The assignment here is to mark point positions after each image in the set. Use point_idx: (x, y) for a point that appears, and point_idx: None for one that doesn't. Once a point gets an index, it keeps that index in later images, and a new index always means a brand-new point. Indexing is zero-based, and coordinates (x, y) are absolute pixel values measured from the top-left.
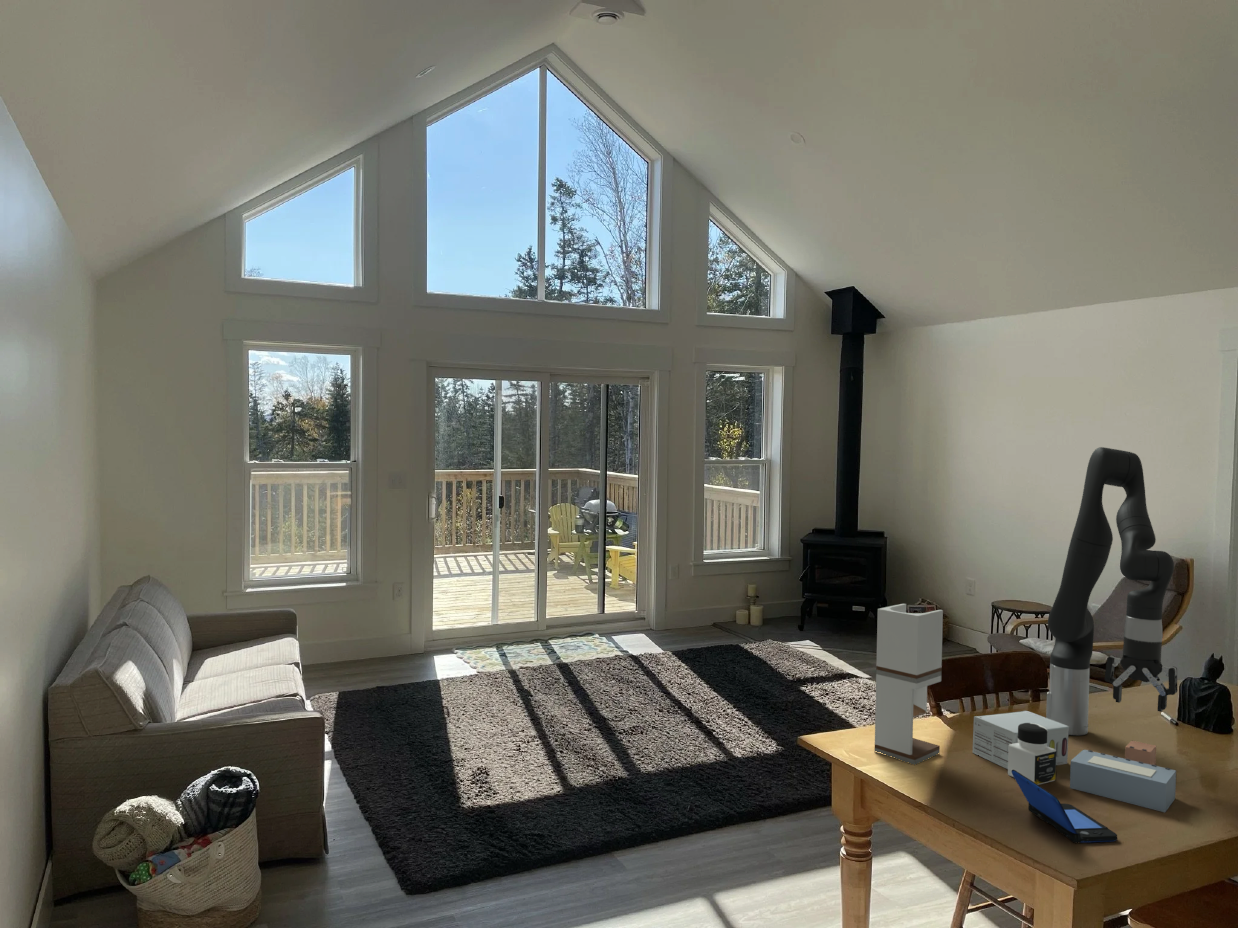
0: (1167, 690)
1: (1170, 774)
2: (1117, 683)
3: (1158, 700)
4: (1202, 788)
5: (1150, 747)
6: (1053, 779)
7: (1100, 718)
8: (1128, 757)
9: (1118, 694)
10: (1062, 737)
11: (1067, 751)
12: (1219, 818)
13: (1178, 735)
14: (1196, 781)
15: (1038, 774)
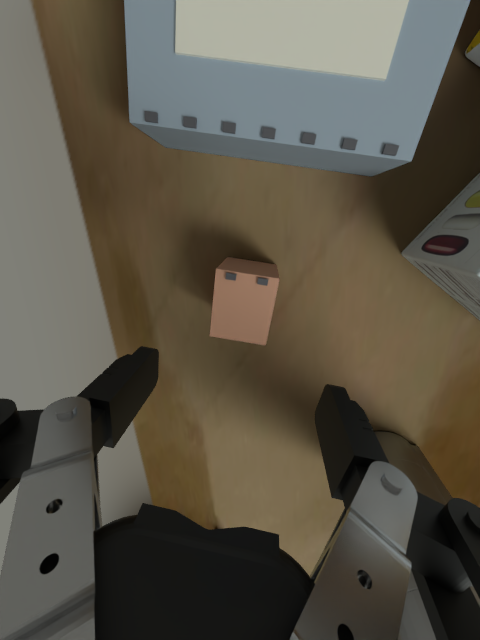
0: (21, 436)
1: (133, 49)
2: (380, 484)
3: (126, 378)
4: (135, 262)
5: (220, 312)
6: (475, 36)
7: (316, 519)
8: (270, 270)
9: (342, 413)
10: (475, 238)
11: (420, 255)
12: (60, 50)
13: (209, 495)
14: (151, 299)
15: None
